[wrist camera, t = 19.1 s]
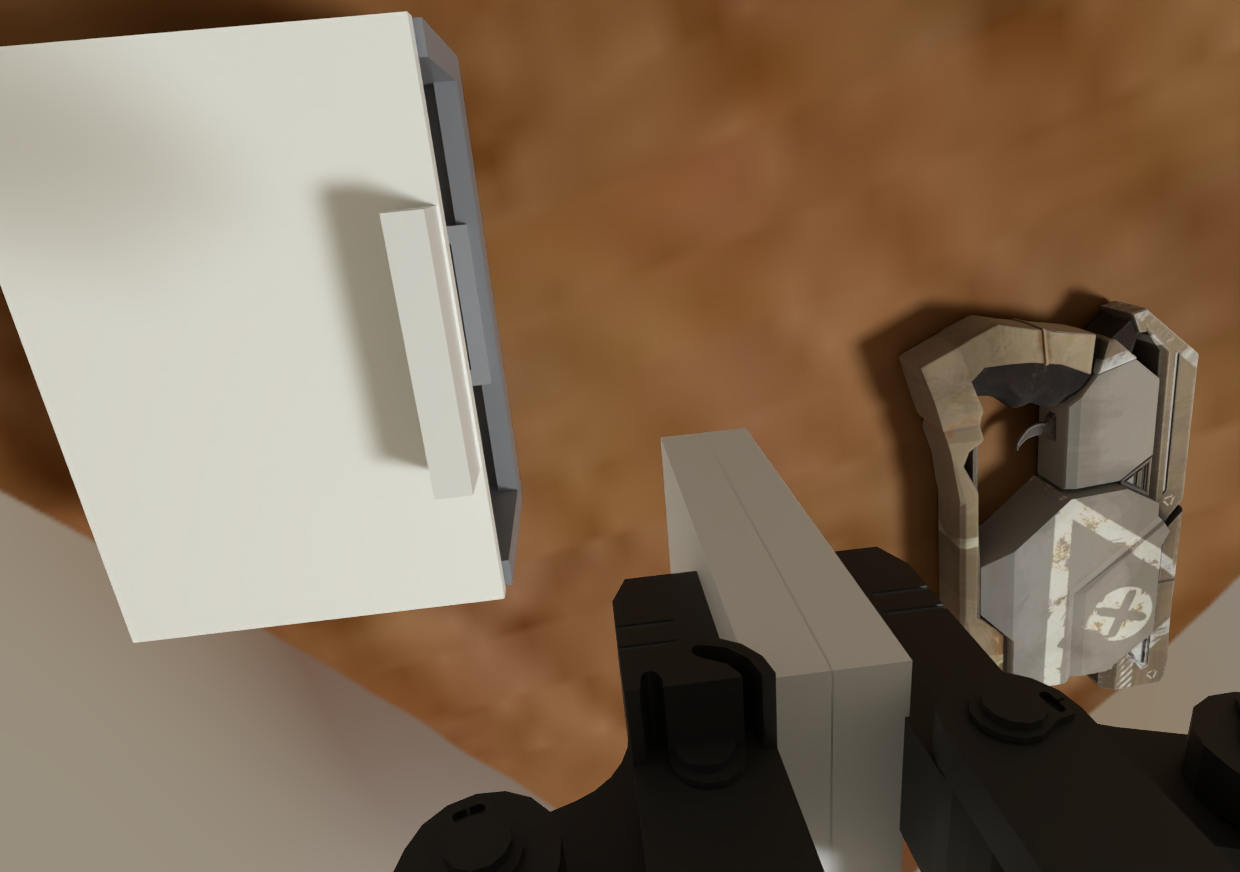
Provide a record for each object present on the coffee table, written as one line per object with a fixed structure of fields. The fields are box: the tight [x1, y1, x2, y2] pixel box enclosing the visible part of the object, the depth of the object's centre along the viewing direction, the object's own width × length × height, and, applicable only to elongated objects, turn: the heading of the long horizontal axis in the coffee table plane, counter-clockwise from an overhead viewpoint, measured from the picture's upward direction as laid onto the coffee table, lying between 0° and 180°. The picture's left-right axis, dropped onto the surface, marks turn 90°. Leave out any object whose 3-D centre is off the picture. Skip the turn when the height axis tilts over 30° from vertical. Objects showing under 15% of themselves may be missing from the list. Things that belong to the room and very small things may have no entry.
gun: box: [898, 301, 1198, 690], centre depth 43 cm, size 4×24×15 cm
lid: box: [0, 11, 506, 643], centre depth 27 cm, size 22×15×3 cm
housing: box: [412, 17, 522, 585], centre depth 33 cm, size 22×16×10 cm
